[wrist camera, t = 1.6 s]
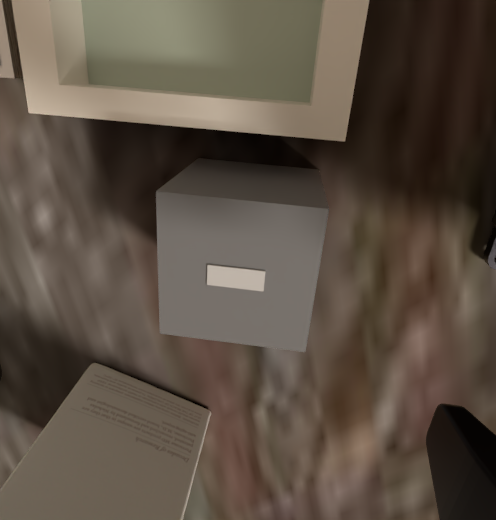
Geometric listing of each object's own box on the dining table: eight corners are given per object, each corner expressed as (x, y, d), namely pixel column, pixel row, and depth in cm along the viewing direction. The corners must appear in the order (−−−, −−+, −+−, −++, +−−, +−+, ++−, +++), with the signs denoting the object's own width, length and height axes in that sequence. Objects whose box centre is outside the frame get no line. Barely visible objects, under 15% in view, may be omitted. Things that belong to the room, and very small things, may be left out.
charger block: (318, 169, 16) (329, 209, 11) (303, 278, 18) (305, 353, 13) (198, 157, 16) (154, 191, 11) (196, 265, 18) (159, 334, 13)
